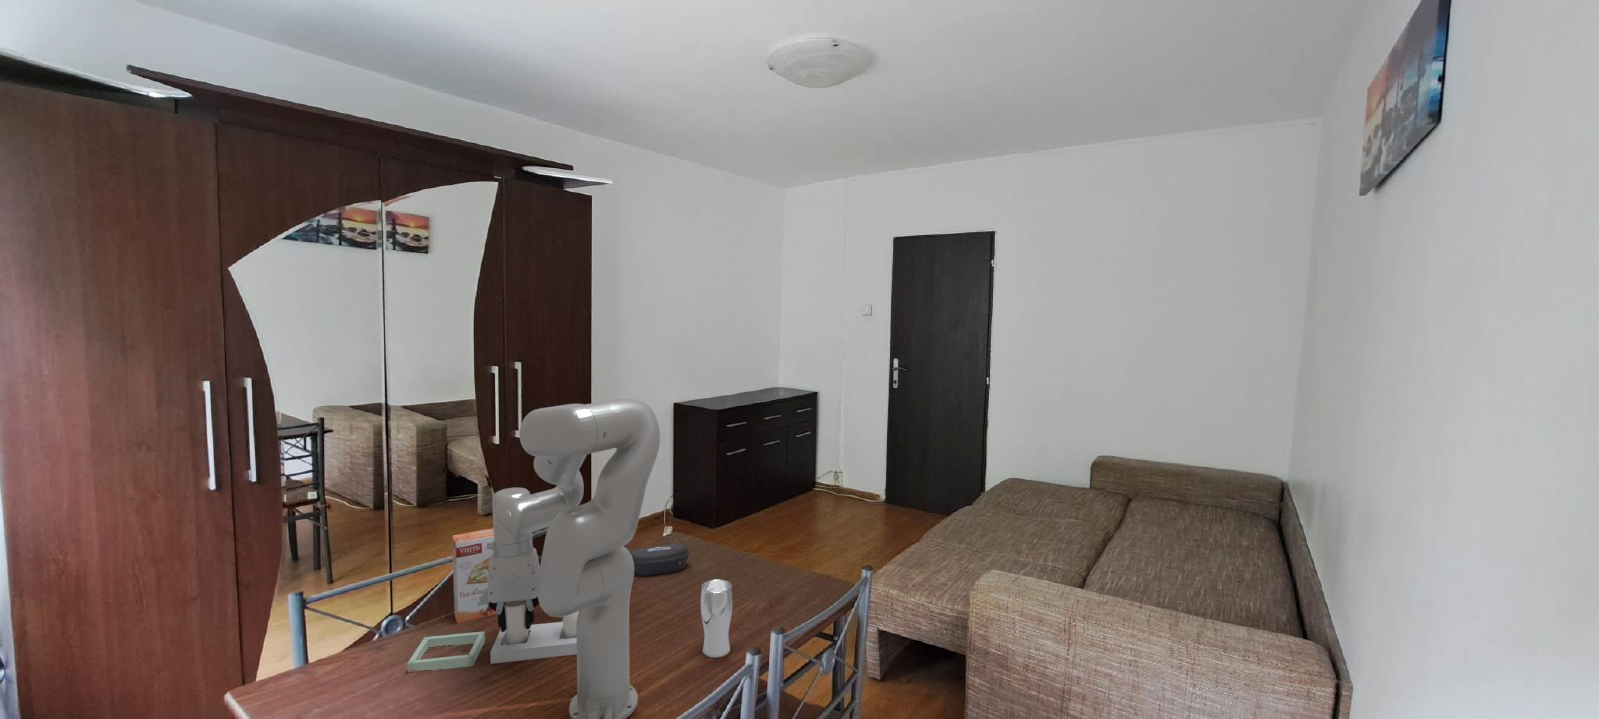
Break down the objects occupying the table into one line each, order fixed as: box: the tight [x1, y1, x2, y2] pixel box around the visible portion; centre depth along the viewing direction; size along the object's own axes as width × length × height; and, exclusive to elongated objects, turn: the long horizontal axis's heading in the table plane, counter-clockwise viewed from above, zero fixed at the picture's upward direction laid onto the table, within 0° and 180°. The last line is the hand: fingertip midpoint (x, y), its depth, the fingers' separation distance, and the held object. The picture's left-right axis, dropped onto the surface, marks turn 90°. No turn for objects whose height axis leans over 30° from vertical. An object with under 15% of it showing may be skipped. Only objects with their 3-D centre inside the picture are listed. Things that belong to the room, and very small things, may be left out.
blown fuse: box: [504, 600, 528, 645], centre depth 136 cm, size 5×5×11 cm
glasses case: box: [630, 543, 691, 577], centre depth 180 cm, size 18×10×8 cm, turn 112°
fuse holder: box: [489, 621, 577, 665], centre depth 138 cm, size 10×20×4 cm, turn 104°
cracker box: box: [451, 528, 497, 625], centre depth 152 cm, size 14×6×21 cm, turn 126°
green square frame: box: [406, 631, 486, 671], centre depth 134 cm, size 10×12×3 cm
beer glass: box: [700, 578, 733, 659], centre depth 139 cm, size 7×7×15 cm
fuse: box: [562, 611, 579, 639], centre depth 139 cm, size 5×5×11 cm
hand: (516, 626), depth 136 cm, fingers closed on blown fuse, 4 cm apart
